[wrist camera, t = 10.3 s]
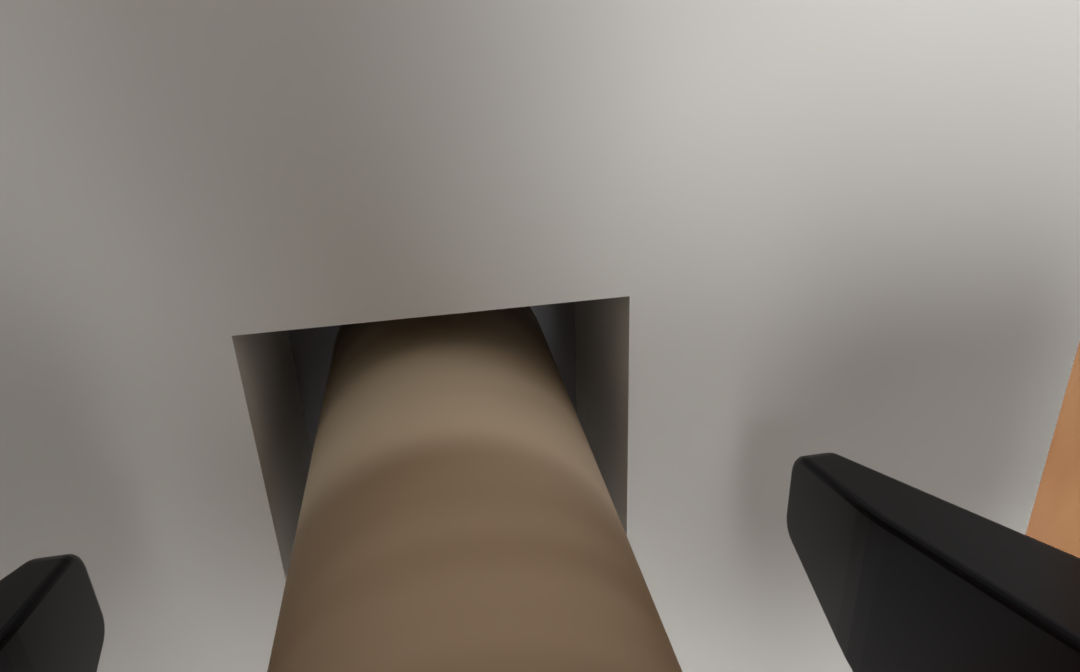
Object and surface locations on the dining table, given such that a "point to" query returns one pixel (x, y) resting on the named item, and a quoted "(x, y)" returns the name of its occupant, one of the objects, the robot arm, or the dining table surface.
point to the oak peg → (459, 515)
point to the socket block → (527, 273)
